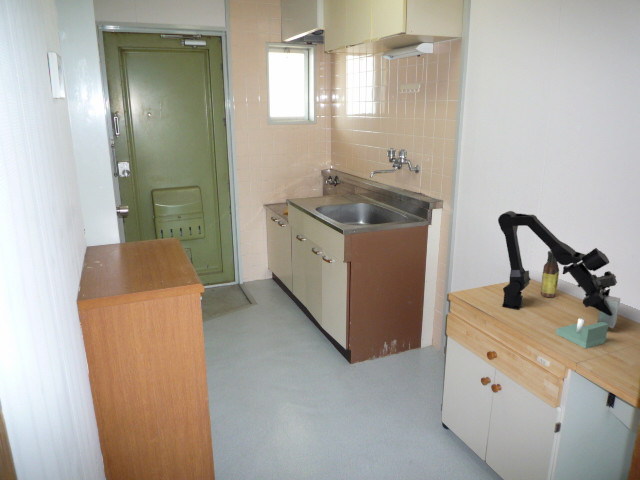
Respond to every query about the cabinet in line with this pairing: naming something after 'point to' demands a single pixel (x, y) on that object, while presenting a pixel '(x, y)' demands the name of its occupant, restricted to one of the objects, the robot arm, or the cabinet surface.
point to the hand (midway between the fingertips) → (612, 312)
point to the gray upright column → (613, 306)
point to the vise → (584, 333)
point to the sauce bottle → (550, 277)
